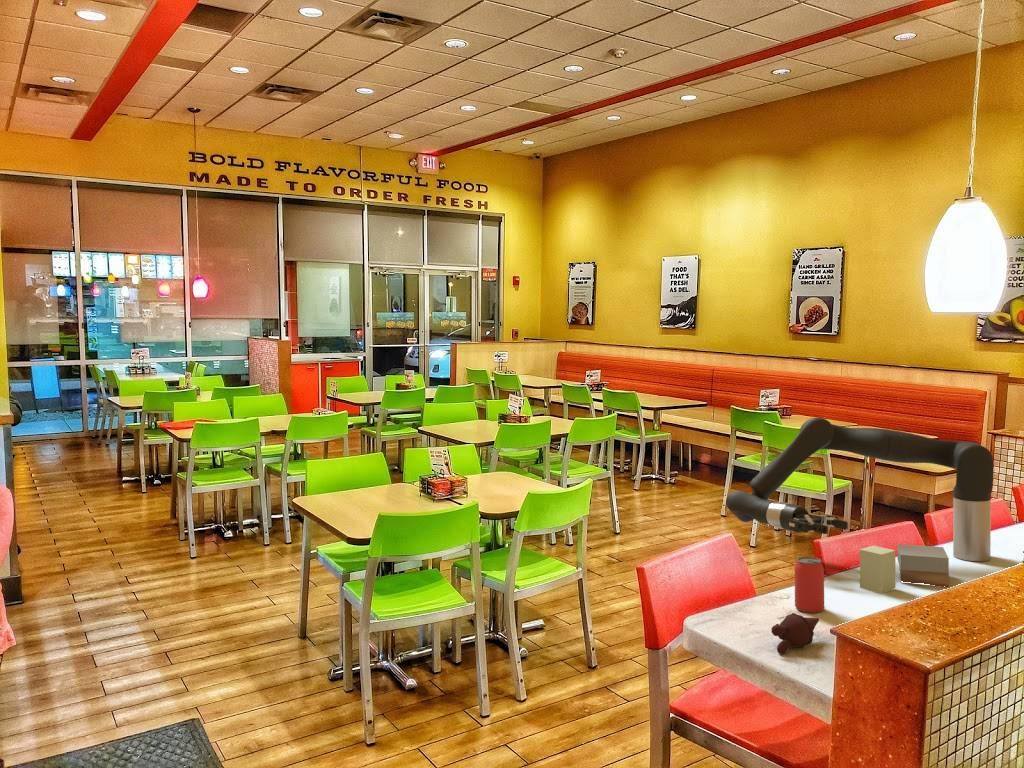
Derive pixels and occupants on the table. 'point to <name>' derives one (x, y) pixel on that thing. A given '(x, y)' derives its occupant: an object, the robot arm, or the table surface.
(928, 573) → the tower base block
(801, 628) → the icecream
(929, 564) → the tower top block
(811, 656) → the table surface
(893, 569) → the sage block
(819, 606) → the beer can
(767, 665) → the table surface
